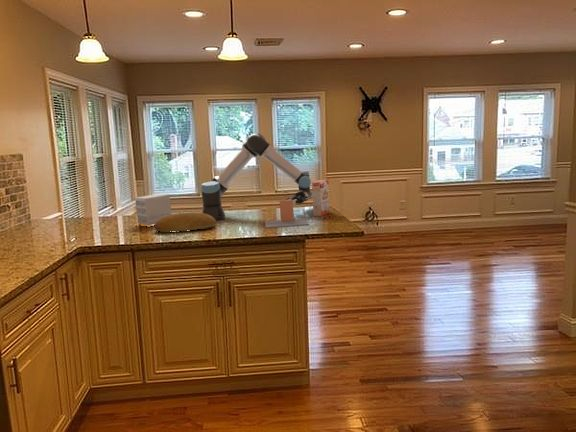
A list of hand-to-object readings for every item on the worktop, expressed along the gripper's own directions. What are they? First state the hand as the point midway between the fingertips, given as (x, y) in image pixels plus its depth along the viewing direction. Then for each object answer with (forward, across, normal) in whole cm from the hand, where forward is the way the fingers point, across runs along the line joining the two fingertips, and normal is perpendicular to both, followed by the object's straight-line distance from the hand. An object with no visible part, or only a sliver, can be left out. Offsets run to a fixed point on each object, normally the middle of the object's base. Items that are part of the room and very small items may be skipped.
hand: (290, 202), depth 282 cm
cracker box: (-14, -16, -10) cm, 23 cm away
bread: (+29, +55, -10) cm, 63 cm away
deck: (+7, 0, -9) cm, 12 cm away
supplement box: (+13, +85, -10) cm, 87 cm away
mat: (+13, -1, -10) cm, 17 cm away
